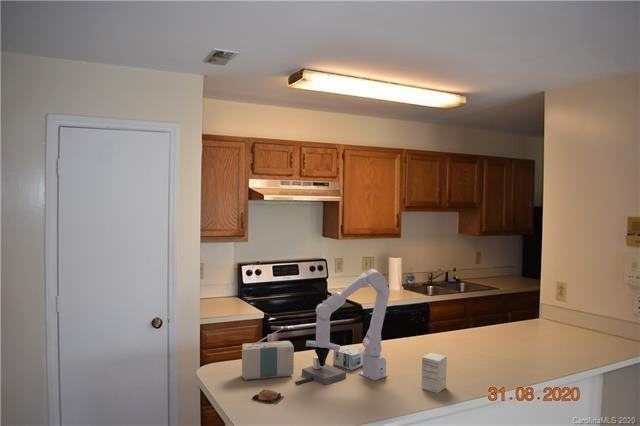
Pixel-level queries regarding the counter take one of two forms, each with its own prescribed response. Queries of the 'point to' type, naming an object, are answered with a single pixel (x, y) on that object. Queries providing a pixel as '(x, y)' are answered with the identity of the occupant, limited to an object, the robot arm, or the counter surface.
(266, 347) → the stereo radio cassette player
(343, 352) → the light bulb box
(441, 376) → the supplement box
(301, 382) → the power cord
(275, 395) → the bread roll
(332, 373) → the box
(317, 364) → the breaker toggle
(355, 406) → the counter surface
